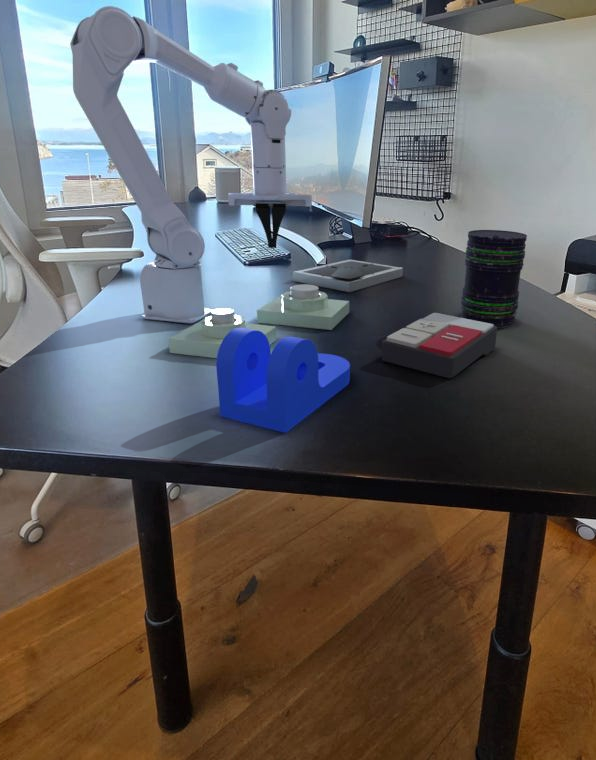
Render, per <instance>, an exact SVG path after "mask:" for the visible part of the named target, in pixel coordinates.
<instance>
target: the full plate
mask: <svg viewBox="0 0 596 760" xmlns="http://www.w3.org/2000/svg"><path fill="white" fill-rule="evenodd" d="M349 314H350V301H349V300H341V299H332V298H331V299H329V295H328V294H327V293H326V292H324V291H320V290H319V297H318V298H313V299H295V298H292V297H291V291H290V290H289V291H285V292H284V293H282V294H280V295H279V296H277V297H276V298H275V299H273V300H271V301H270V302H268V303H266V304H265V305H263V306H261V307H260V308H258V309H256V320H257V321H256V322H257V323H258V324H267V325H277V326H287V327H298V328H306V329H307V328H308V329H317V330H326V331H327V330H328V331H332V330H333V329H334V328H335V327H336V326H337V325H338V324H339V323H340V322H341V321H343V319H344V318H345V317H346V316H348V315H349Z"/></svg>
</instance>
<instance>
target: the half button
mask: <svg viewBox="0 0 596 760" xmlns="http://www.w3.org/2000/svg"><path fill="white" fill-rule="evenodd" d="M234 315H235V310H234V309H231V308H226V307H225V308H223V307H222V308H215V309H214V310H212V311H211V314H210V316H211V317H212V323H214V324H229V323H234V322H235V318H234Z"/></svg>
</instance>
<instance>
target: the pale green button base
mask: <svg viewBox="0 0 596 760" xmlns="http://www.w3.org/2000/svg"><path fill="white" fill-rule="evenodd" d="M234 318H235V322H234V323H229V324H214V323H212V317H211V315H208V316H206V317H204V318H202V319H200V320H199V322H198V321H197V322H195V324H194V323H193V325H191V326H189V327H187V328H185V329H183V330H181V331H179V332H178V333H175V334H174V335H172V336H170V337H168V338H167V339H168V340H167V341H168V347H169V348H168V349H169V353H170V354H177V355H185V356H192V357H202V358H209V359H217V355H218V351H219V348H220V345H221V343H222V341H223V339H224V338H225V336H226V335H227V334H228V333H229V332H230V331H232V330H233V329H236V328H246V329H251V330H257V331H260V332H262V333H263V334H264V335H265V336H266V337H267V339H268V341H269V345H270V346H271V345H272V344H273V343H274V342H276V341H277V327H276V326H274V325H265V324H254V323H246V320H245V319H246V318H245V317H244V316H241V315H237V314H234Z"/></svg>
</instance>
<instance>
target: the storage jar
mask: <svg viewBox="0 0 596 760" xmlns="http://www.w3.org/2000/svg"><path fill="white" fill-rule="evenodd" d="M467 238H468V240H467V242H466V248H465V260H464V262H465V263H464V265H465V277H464V286H463V287H462V293H461V299H460V310H461V313H460V316H459V317H460V318H465V319H470V320H475V321H480V322H485V323H490V324H493V325H494V326H497V329H502V328H503V329H505V328H509V327H512V326H514V325H515V324H516V315H517V310H518V308H519V297H520V291H519V288H520V287H519V286H520V280H521V272H522V270H523V267H524V259H525V257H526V251H525V250H526V242H527V238H528V235H527V234H526V233H522V232H517V231H512V230H511V231H509V230H500V229H475V230H474V229H473V230H470V231H469V230H468V232H467Z"/></svg>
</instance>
